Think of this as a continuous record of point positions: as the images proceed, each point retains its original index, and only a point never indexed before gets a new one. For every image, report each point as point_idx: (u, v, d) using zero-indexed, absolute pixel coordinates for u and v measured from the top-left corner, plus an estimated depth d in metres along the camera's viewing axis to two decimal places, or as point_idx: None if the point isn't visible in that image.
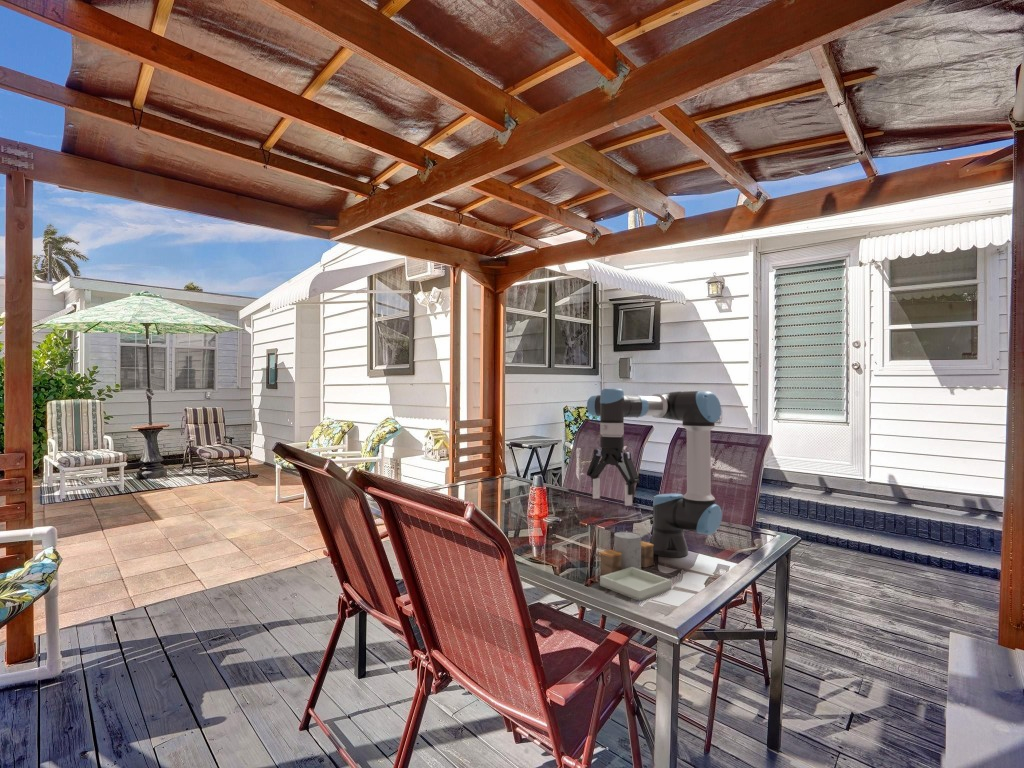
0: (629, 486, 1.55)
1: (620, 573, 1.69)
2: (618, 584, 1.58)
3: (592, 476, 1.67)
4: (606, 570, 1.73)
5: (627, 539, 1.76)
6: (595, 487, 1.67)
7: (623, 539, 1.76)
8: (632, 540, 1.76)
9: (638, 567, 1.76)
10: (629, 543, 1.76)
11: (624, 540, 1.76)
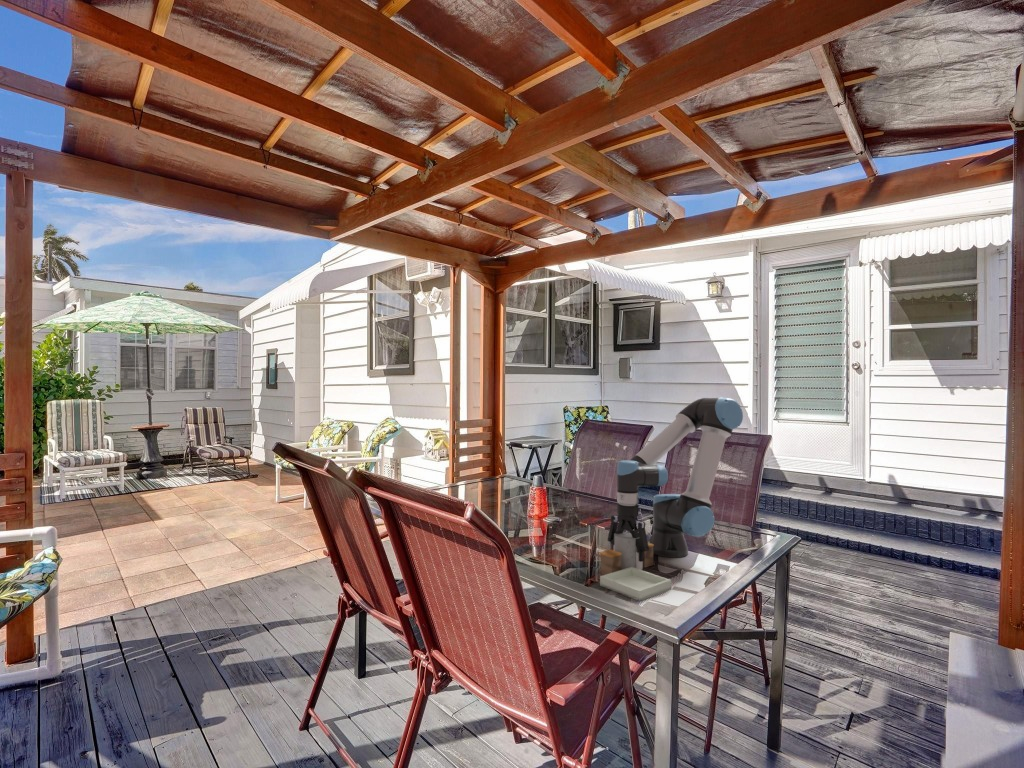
0: (640, 553, 1.75)
1: (620, 573, 1.69)
2: (618, 584, 1.58)
3: (613, 542, 1.84)
4: (606, 570, 1.73)
5: (627, 539, 1.76)
6: None
7: (623, 539, 1.76)
8: (632, 540, 1.76)
9: None
10: (629, 543, 1.76)
11: (624, 540, 1.76)
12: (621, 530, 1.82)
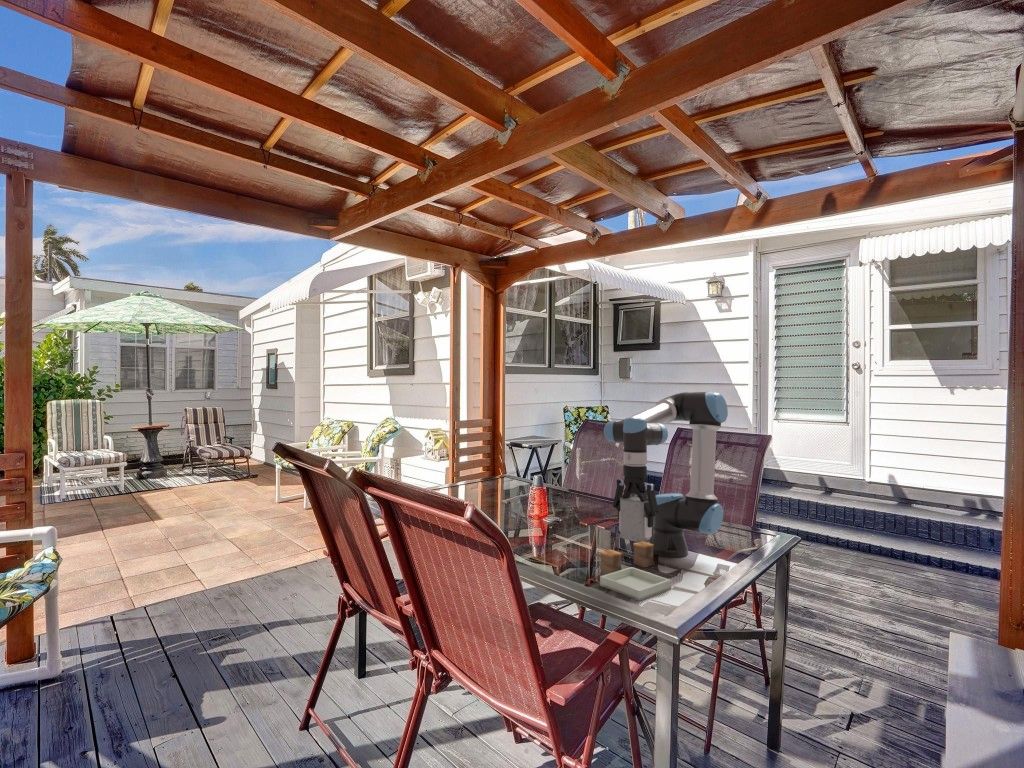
0: (649, 519, 1.58)
1: (620, 573, 1.69)
2: (618, 584, 1.58)
3: (618, 508, 1.67)
4: (606, 570, 1.73)
5: (635, 503, 1.59)
6: None
7: (630, 503, 1.59)
8: (640, 504, 1.59)
9: None
10: (637, 507, 1.59)
11: (631, 504, 1.59)
12: (628, 494, 1.65)
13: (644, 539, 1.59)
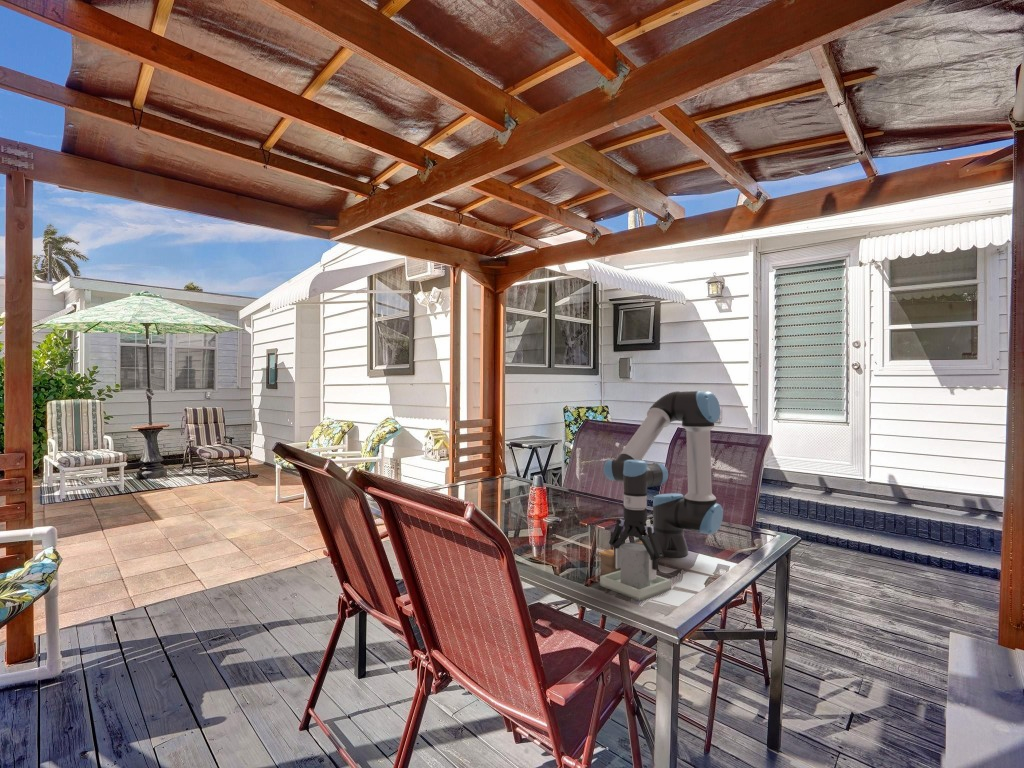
0: (653, 561, 1.56)
1: (620, 573, 1.69)
2: (618, 584, 1.58)
3: (615, 546, 1.68)
4: (606, 570, 1.73)
5: (635, 552, 1.58)
6: (618, 556, 1.67)
7: (630, 552, 1.59)
8: (640, 553, 1.58)
9: (647, 583, 1.59)
10: (637, 556, 1.58)
11: (631, 553, 1.59)
12: (626, 535, 1.65)
13: None
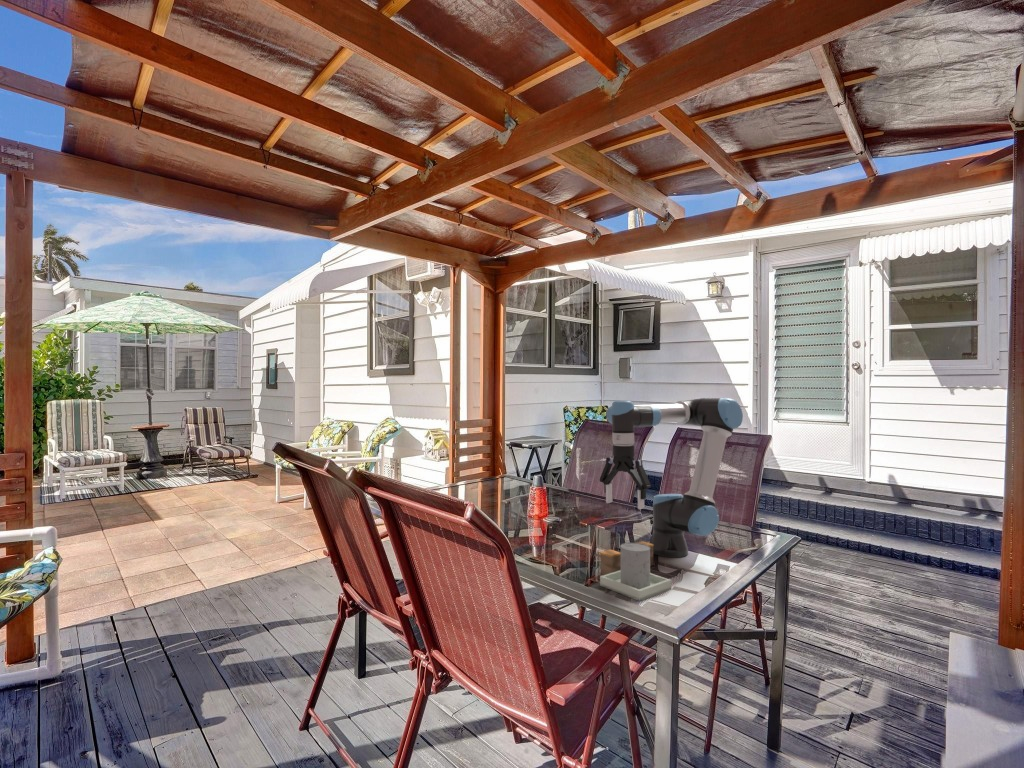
0: (641, 491, 1.69)
1: (620, 573, 1.69)
2: (618, 584, 1.58)
3: (605, 482, 1.80)
4: (606, 570, 1.73)
5: (635, 552, 1.58)
6: (608, 492, 1.79)
7: (630, 552, 1.59)
8: (640, 553, 1.58)
9: (647, 583, 1.59)
10: (637, 556, 1.58)
11: (631, 553, 1.59)
12: (615, 471, 1.77)
13: None
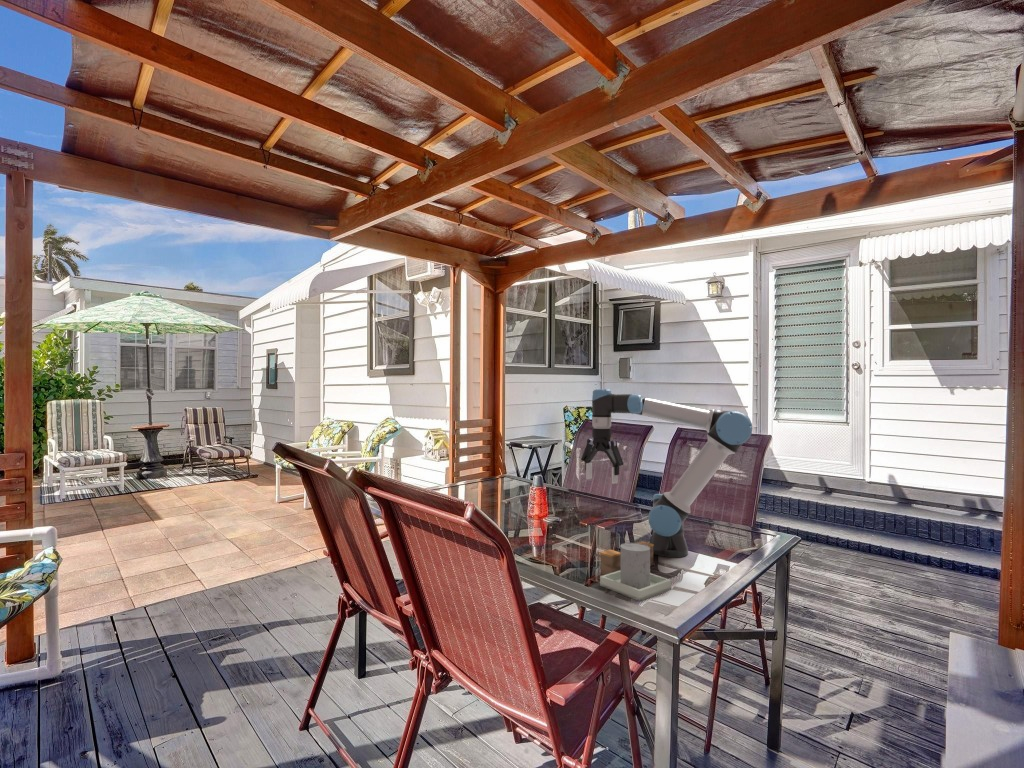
0: (615, 468, 1.93)
1: (620, 573, 1.69)
2: (618, 584, 1.58)
3: (586, 461, 2.04)
4: (606, 570, 1.73)
5: (635, 552, 1.58)
6: (588, 469, 2.04)
7: (630, 552, 1.59)
8: (640, 553, 1.58)
9: (647, 583, 1.59)
10: (637, 556, 1.58)
11: (631, 553, 1.59)
12: (594, 451, 2.02)
13: None
